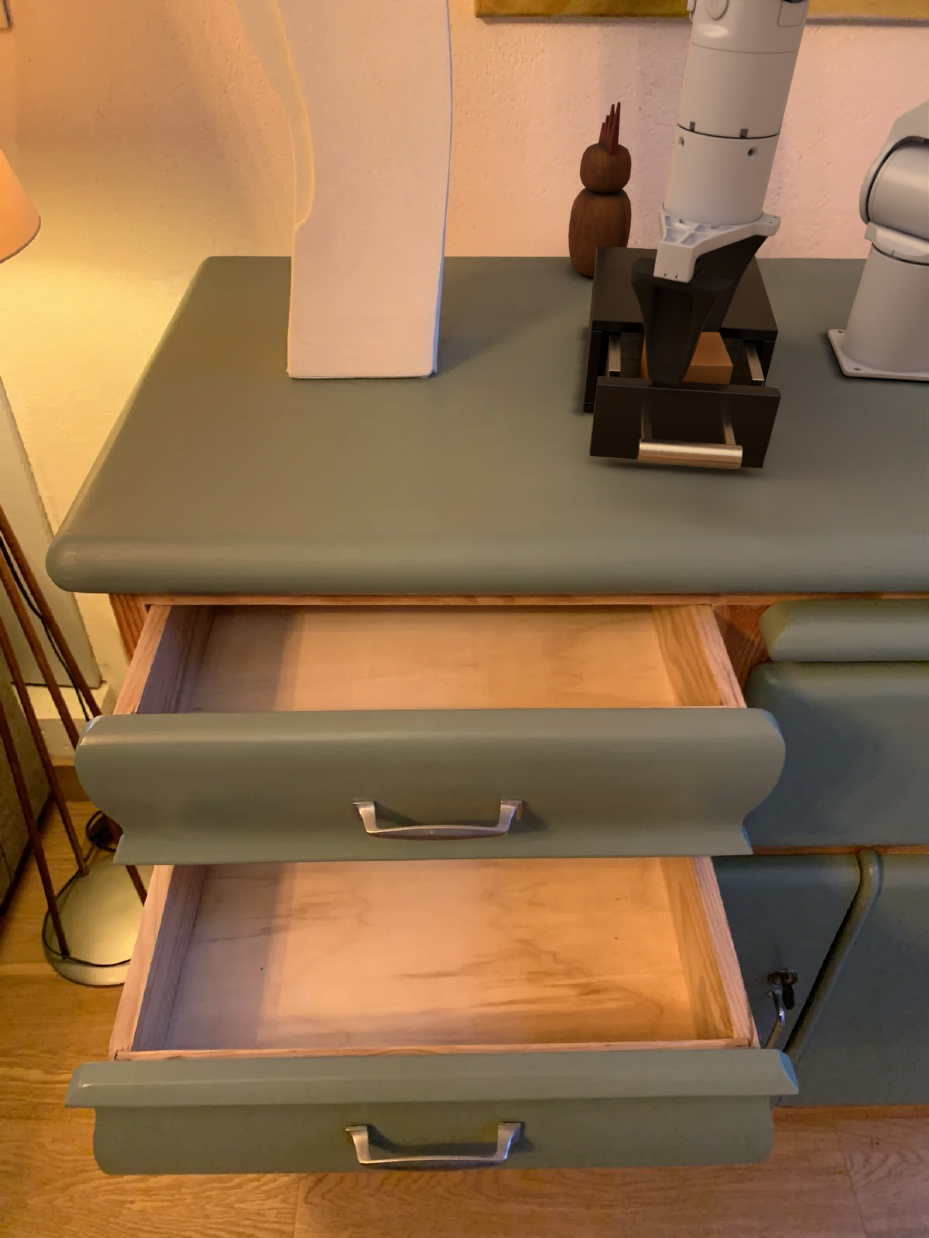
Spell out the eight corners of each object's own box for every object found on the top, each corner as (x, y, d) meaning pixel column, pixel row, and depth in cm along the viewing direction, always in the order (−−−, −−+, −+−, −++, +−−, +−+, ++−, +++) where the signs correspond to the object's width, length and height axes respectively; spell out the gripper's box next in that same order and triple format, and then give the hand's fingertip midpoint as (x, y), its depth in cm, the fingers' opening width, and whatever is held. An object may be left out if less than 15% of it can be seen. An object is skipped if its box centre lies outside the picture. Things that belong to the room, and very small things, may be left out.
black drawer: (773, 518, 55) (795, 443, 51) (586, 504, 56) (595, 429, 52) (742, 375, 69) (757, 308, 65) (594, 366, 70) (601, 300, 66)
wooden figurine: (622, 286, 84) (644, 108, 74) (561, 281, 85) (575, 104, 75) (627, 261, 89) (648, 90, 79) (569, 256, 90) (583, 87, 80)
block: (635, 397, 64) (645, 330, 61) (705, 399, 64) (719, 332, 60) (643, 433, 60) (654, 363, 57) (718, 434, 60) (733, 365, 57)
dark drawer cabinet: (755, 423, 65) (778, 330, 60) (582, 412, 66) (592, 319, 62) (736, 338, 76) (755, 254, 71) (588, 329, 77) (596, 246, 72)
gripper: (771, 166, 44) (713, 416, 53) (824, 112, 54) (768, 330, 63) (634, 146, 46) (601, 389, 55) (709, 98, 56) (671, 310, 65)
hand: (683, 357), depth 59 cm, fingers open, 7 cm apart
